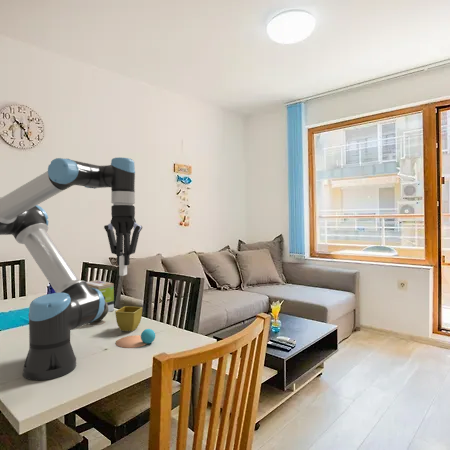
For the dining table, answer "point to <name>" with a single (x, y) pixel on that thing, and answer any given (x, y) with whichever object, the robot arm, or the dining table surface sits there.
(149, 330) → the ball
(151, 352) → the dining table surface
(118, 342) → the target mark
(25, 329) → the dining table surface
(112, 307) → the tea box
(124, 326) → the flower pot
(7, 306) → the dining table surface
